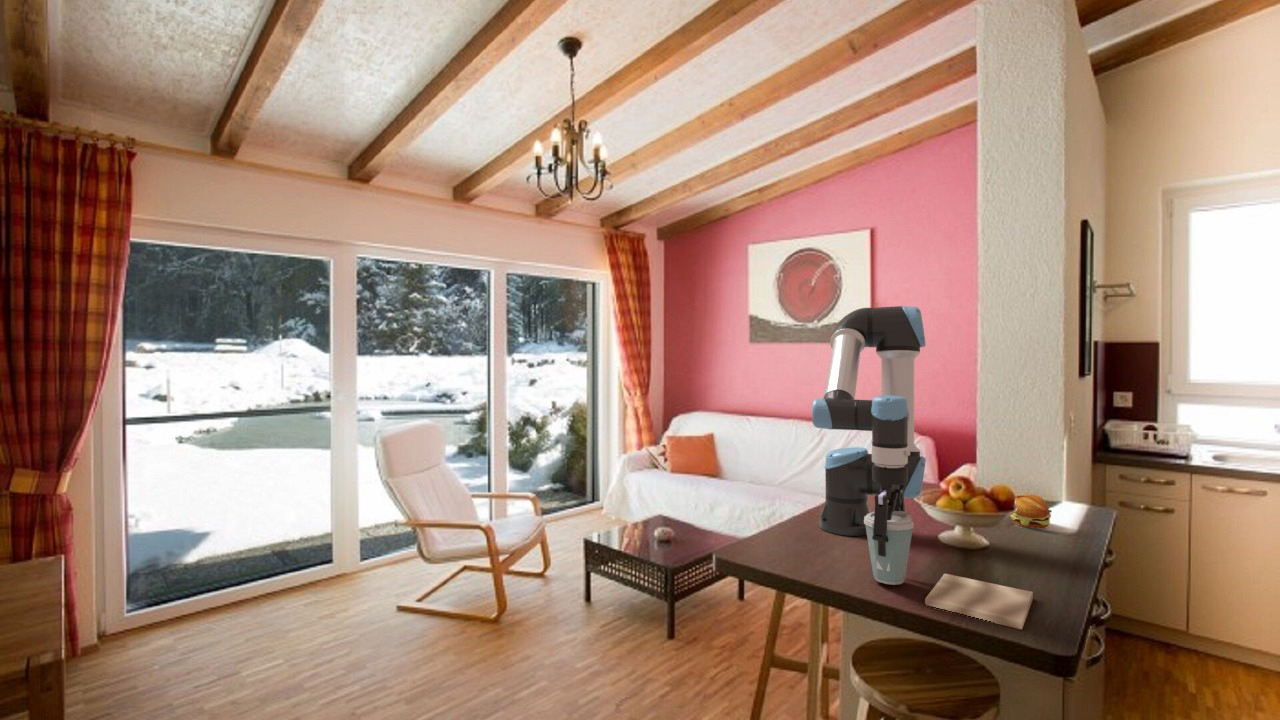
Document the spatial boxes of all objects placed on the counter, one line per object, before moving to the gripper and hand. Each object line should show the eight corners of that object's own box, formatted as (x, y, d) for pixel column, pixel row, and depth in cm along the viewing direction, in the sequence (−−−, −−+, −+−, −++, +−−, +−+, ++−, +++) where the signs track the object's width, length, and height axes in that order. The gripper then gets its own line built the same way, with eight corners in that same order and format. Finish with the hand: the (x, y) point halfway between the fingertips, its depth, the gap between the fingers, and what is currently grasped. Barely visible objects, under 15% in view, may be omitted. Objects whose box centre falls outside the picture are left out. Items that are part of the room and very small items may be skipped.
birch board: (925, 605, 125) (925, 598, 125) (944, 579, 138) (944, 573, 138) (1021, 629, 114) (1021, 621, 114) (1032, 599, 127) (1032, 592, 127)
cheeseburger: (1050, 521, 180) (1051, 491, 177) (1051, 540, 171) (1053, 508, 169) (1010, 516, 185) (1011, 486, 183) (1010, 534, 176) (1010, 503, 174)
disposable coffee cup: (872, 588, 132) (872, 520, 131) (857, 570, 142) (856, 506, 142) (922, 589, 131) (922, 520, 131) (903, 570, 142) (903, 506, 141)
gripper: (892, 475, 126) (893, 582, 127) (920, 458, 142) (920, 552, 143) (856, 471, 131) (857, 574, 131) (887, 454, 147) (887, 546, 148)
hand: (890, 562), depth 137 cm, fingers open, 9 cm apart
